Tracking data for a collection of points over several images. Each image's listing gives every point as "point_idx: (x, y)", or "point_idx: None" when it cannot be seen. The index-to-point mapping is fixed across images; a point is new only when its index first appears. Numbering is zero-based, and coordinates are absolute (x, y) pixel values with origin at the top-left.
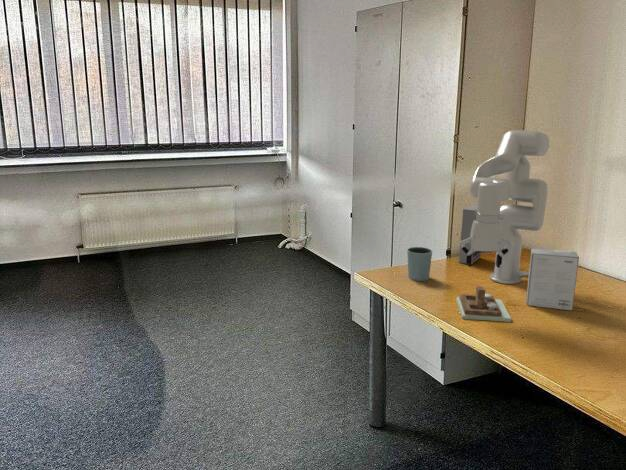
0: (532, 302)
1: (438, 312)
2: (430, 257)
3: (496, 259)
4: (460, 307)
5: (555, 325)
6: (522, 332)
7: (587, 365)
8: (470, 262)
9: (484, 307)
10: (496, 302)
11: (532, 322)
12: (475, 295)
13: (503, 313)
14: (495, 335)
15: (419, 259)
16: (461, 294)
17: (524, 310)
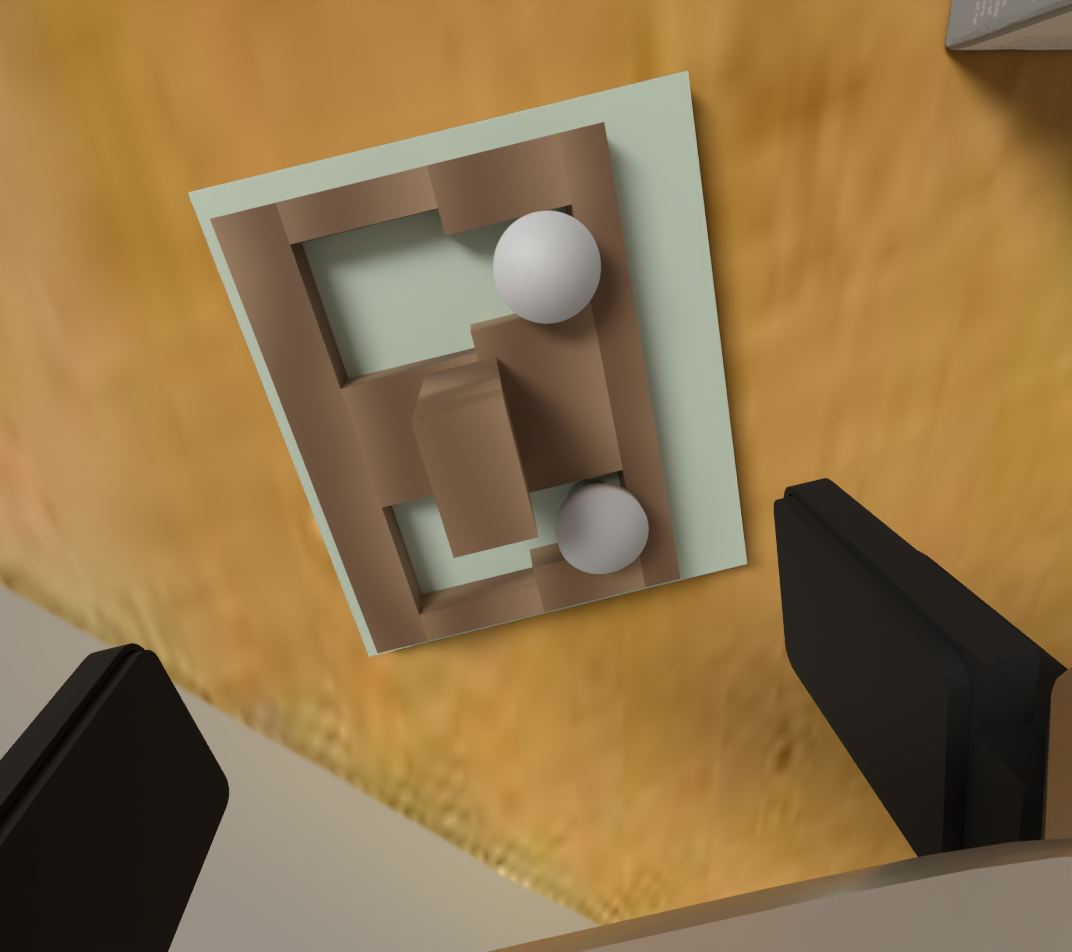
0: (1023, 40)
1: (156, 594)
2: None
3: (847, 581)
4: (311, 495)
5: (1056, 481)
6: (794, 689)
7: None
8: (182, 889)
9: (529, 488)
10: (635, 201)
11: (897, 493)
12: (399, 187)
13: (691, 482)
14: (622, 794)
15: None
16: (234, 221)
17: (887, 229)
